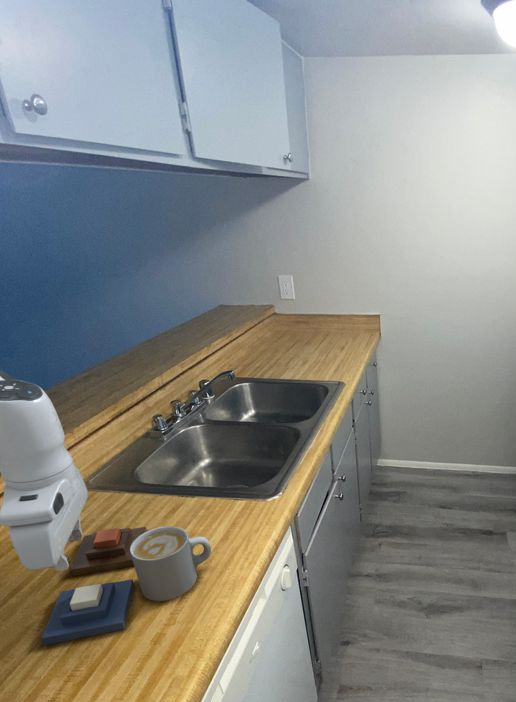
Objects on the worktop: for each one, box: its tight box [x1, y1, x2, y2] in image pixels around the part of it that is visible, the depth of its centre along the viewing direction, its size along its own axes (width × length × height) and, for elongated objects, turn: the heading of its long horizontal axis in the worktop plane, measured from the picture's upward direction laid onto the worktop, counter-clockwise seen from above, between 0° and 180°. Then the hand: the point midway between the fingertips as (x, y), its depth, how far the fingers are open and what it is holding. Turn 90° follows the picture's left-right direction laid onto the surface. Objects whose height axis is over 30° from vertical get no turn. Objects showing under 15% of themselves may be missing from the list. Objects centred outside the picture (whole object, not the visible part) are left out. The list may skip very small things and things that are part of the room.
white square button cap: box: [70, 583, 103, 611], centre depth 84 cm, size 4×4×2 cm
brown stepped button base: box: [70, 526, 148, 577], centre depth 99 cm, size 12×11×4 cm
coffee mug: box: [130, 525, 212, 602], centre depth 92 cm, size 13×10×10 cm
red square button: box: [94, 527, 121, 549], centre depth 98 cm, size 4×4×2 cm
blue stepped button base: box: [40, 578, 135, 646], centre depth 85 cm, size 12×11×4 cm
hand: (70, 552), depth 79 cm, fingers open, 6 cm apart
